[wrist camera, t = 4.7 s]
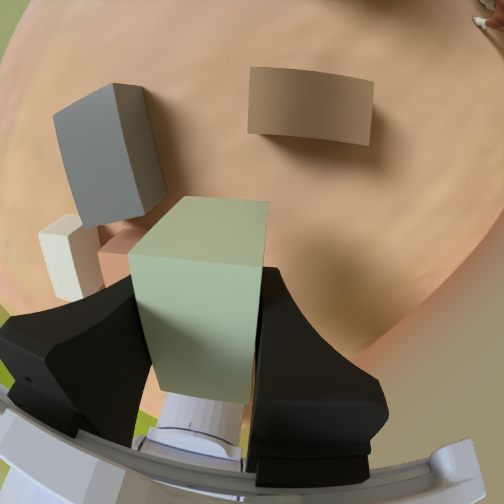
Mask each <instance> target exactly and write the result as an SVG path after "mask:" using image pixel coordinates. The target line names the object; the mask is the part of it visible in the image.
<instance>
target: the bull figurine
mask: <svg viewBox="0 0 504 504" xmlns="http://www.w3.org/2000/svg"><path fill="white" fill-rule="evenodd" d="M479 1H480V2H481V3H482V4H484V5H486V8H487V9H488V10H495V12H494V14H493V16H492V17H491V18H489V19H482V18H480V17H477V16H473V21H474V23H475V24H476V25H478V26H482V29H484V30H486V29H496V30H499V31H504V0H495V1H496V3H495V2H491V1H489V0H479Z"/></svg>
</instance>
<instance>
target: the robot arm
mask: <svg viewBox="0 0 504 504" xmlns="http://www.w3.org/2000/svg"><path fill="white" fill-rule="evenodd" d="M0 359H1V360H2V362H3V364H4V365H5V366H6V368H7V369H8V371H9V372H10V374H11V375H12V376H13V378H14V379H15V380H16V381H15V383H14V384H13V386H12V387H11V389H10V390H9V389H7V388H6V387H4V386H3V385H2V384H0V458H1V459H2V460H4V461H5V462H6V463H7V464H8V465H10V466H11V468H10V470H9V472H8V475H7V477H6V479H5V482H4V484H3V487H2V489H1V492H0V504H473V503H475V502H477V501H478V500H480V499H482V498H484V497H485V495H486V492H485V487H484V483H483V478H482V474H481V471H480V466H479V463H478V459H477V456H476V452H475V449H474V445H473V443H472V439H471V438H470V437H468V438H466V439H462V440H460V441H457V442H454V443H450V444H448V445H445V446H443V447H441V448H439V449H438V450H436V451H435V452H433V453H432V454H431V455H430V456H429V457H428V458H424V459H420V460H416V461H412V462H408V463H403V464H399V465H394V466H388V467H383V468H377V469H370V470H369V463H368V455H369V454H370V453H371V445H370V440H371V439H372V438H373V437H374V436H375V435H376V434H377V433H378V431H379V430H380V429H381V428H382V427H383V426H384V424H385V423H386V421H387V420H388V417H389V411H388V406H387V403H386V399H385V396H384V393H383V391H382V388H381V386H380V383H379V381H378V380H377V379H375V378H374V377H373V376H371V375H369V374H368V373H366V372H365V371H363V370H361V369H360V368H358V367H357V366H355V365H354V364H352V363H351V362H350V361H349V360H347V359H346V358H345V357H343V356H342V355H341V354H340V353H338V352H337V351H336V350H335V349H334V348H333V347H332V346H331V345H330V344H328V343H327V342H326V341H325V340H324V339H323V338H322V337H321V336H320V335H319V334H318V333H317V331H316V330H315V329H314V328H313V327H312V326H311V324H310V323H309V322H308V321H307V319H306V318H305V317H304V315H303V314H302V312H301V311H300V309H299V308H298V306H297V305H296V303H295V302H294V300H293V298H292V296H291V295H290V293H289V291H288V289H287V287H286V285H285V283H284V281H283V279H282V276H281V274H280V271H279V269H278V268H275V267H264V266H263V270H262V279H261V289H260V300H259V310H258V320H257V330H256V340H255V388H254V398H253V407H252V416H251V425H250V435H249V443H248V452H247V458H241V455H242V448H241V447H239V441H240V434H241V426H242V418H243V410H244V405H247V404H238V403H230V402H222V401H215V400H209V399H203V398H197V397H191V396H186V395H181V394H176V393H171V392H167V395H166V398H165V401H164V404H163V407H162V410H161V413H160V416H159V419H158V422H157V425H156V428H155V427H150V429H149V432H148V435H147V436H146V435H144V434H139V435H138V436H137V437H135V438H133V435H134V429H135V424H136V419H137V414H138V410H139V405H140V402H141V398H142V394H143V391H144V387H145V384H146V380H147V377H148V374H149V371H150V368H151V365H152V360H151V357H150V353H149V350H148V346H147V343H146V339H145V335H144V331H143V327H142V323H141V319H140V315H139V310H138V306H137V301H136V297H135V292H134V287H133V282H132V277H131V274H130V275H128V276H127V277H125V278H123V279H121V280H119V281H118V282H116V283H114V284H112V285H110V286H109V287H107V288H105V289H103V290H101V291H99V292H96V293H94V294H92V295H90V296H87V297H85V298H83V299H80V300H77V301H74V302H71V303H69V304H66V305H63V306H60V307H56V308H53V309H49V310H45V311H41V312H36V313H30V314H24V315H17V316H11V317H10V318H9V319H8V320H7V321H6V322H5V323H4V324H3V326H2V327H1V328H0ZM251 381H252V378H251ZM250 392H251V387H250ZM249 403H250V396H249ZM248 405H249V404H248Z"/></svg>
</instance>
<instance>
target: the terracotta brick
mask: <svg viewBox="0 0 504 504" xmlns="http://www.w3.org/2000/svg"><path fill="white" fill-rule="evenodd" d="M148 231H149V230H140V229H124V228H123V229H122V230H121V231H120V232H118V233H117V234H116V235H115V236H114V237H113V238H112V239H110V240H109V241H108V242H107V243H106V244H105V245H104V246H103V247H102V248H101V249H99V250H98V251H97V254H98V258H99V263H100V267H101V271H102V275H103V279H104V283H105V287H106V288H107V287H109V286H110V285H112V284H114V283H116V282H118V281H119V280H121V279H123V278H125V277H127V276H128V275H130V274H131V271H130V266H129V260H128V254H127V253H128V252H129V251H130V250H131V249H132V248H133V247H134V246H135V245H136V244H137V243H138V242H139V241H140V240H141V239H142V238H143V237H144V235H145V234H146V233H147V232H148Z"/></svg>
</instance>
